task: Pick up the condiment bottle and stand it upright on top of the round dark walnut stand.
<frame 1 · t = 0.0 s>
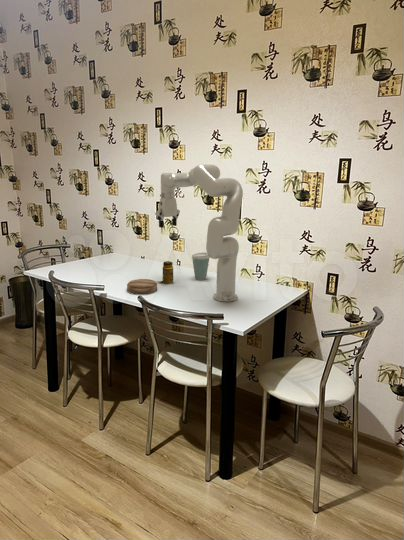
hand: (167, 226, 242), 31 cm above the table, tool pointing down, fingers open, 9 cm apart
walnut stand: (142, 290, 231), on the table
condiment: (166, 283, 245), on the table
disposable coffee cup: (200, 278, 254), on the table
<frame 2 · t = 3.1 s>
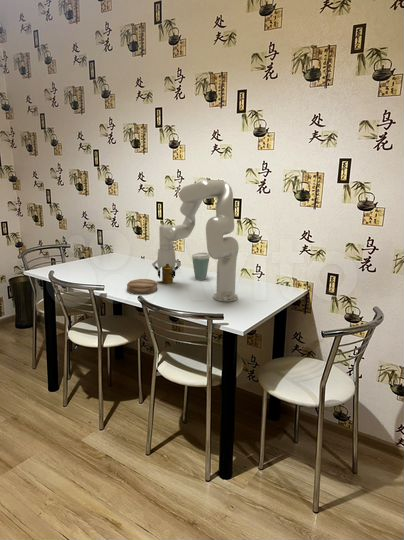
hand: (166, 277, 244), 3 cm above the table, tool pointing down, fingers open, 7 cm apart
condiment: (166, 283, 244), on the table, touching gripper
everything else where it was.
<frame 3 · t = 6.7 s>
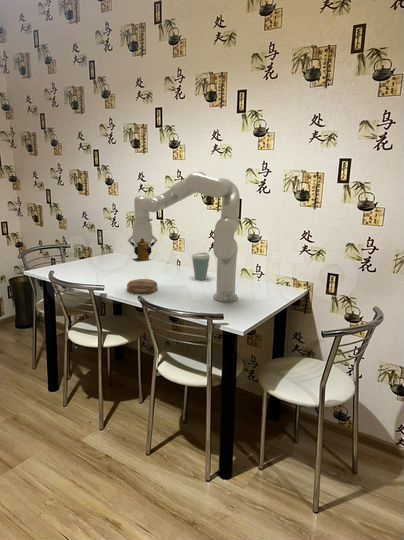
hand: (142, 254, 226), 20 cm above the table, tool pointing down, fingers closed on condiment, 6 cm apart
condiment: (141, 260, 227), point 16 cm above the table, touching gripper
everything else where it was.
when the fingers open (8 cm above the table, at t = 10.0 s): condiment stays where it is, resting on walnut stand.
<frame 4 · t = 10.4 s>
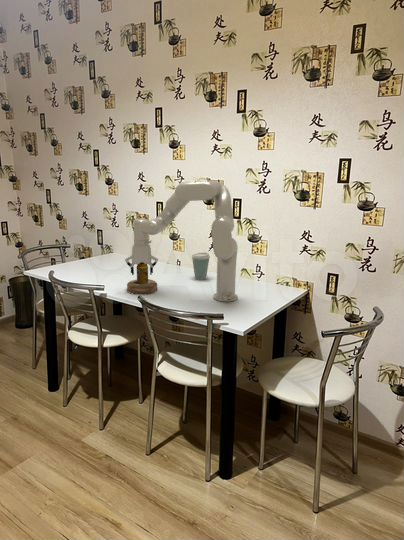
hand: (141, 274, 229), 9 cm above the table, tool pointing down, fingers open, 9 cm apart
condiment: (141, 283, 230), point 4 cm above the table, touching walnut stand
everything else where it was.
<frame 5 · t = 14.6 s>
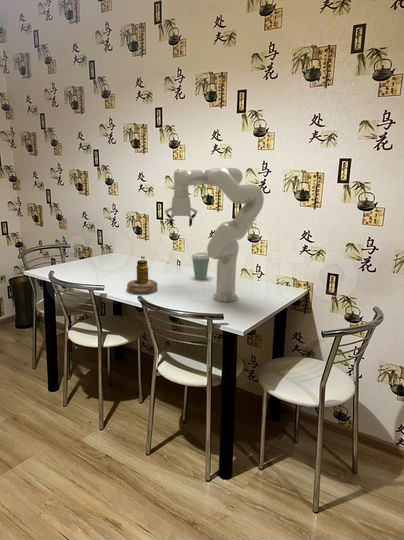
hand: (181, 226, 231), 33 cm above the table, tool pointing down, fingers open, 9 cm apart
nothing on the table moved.
at the end: condiment inside the target area on the walnut stand (0.6 cm from its centre), point 3.8 cm above the walnut stand's base; condiment tilted 0°; the gripper is holding nothing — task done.
